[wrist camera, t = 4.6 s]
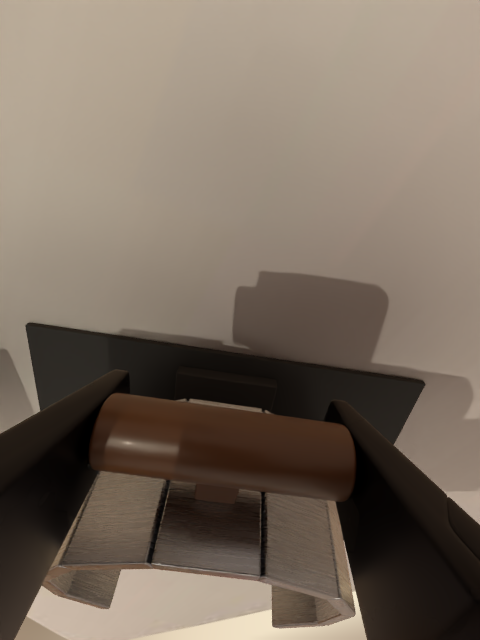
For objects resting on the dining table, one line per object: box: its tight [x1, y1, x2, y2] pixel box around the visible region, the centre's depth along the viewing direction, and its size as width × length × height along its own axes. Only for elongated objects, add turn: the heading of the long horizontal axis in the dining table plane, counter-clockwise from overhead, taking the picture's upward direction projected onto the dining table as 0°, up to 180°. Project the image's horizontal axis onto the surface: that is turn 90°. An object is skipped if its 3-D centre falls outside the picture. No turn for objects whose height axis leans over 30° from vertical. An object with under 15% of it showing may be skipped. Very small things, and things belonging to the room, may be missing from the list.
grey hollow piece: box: [42, 393, 357, 628], centre depth 12 cm, size 11×14×5 cm
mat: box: [25, 323, 425, 540], centre depth 18 cm, size 20×18×2 cm
